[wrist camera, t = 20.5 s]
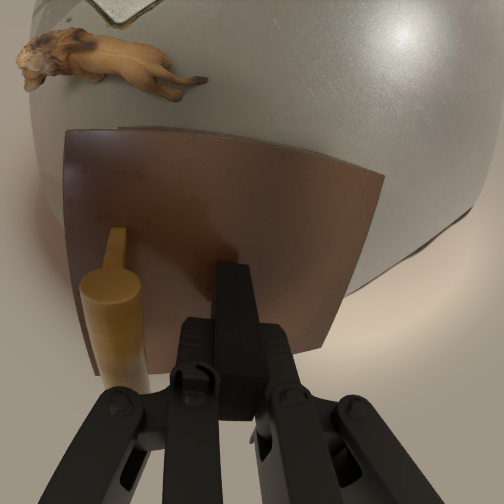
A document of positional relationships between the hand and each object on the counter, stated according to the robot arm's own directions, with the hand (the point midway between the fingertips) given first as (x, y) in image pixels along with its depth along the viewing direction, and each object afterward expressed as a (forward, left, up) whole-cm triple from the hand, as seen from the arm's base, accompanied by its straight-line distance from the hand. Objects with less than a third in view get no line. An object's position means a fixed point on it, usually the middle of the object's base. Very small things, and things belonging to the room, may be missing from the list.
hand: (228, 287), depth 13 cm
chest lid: (0, 0, -1) cm, 1 cm away
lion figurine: (-11, +12, -13) cm, 21 cm away
